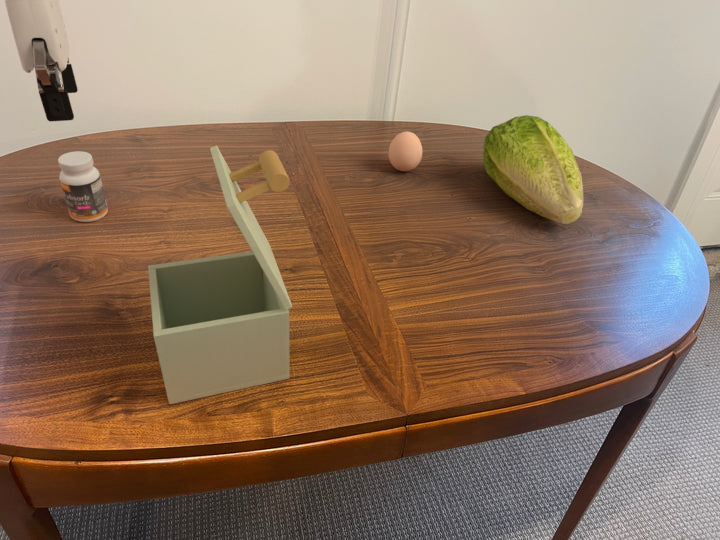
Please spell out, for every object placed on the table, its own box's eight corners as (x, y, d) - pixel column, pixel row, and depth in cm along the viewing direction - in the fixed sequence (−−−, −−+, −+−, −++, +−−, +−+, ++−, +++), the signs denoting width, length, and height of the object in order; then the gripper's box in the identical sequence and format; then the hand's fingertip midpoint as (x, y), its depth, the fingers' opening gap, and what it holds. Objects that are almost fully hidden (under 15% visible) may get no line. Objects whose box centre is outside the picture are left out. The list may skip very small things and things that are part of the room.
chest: (169, 405, 59) (153, 336, 52) (162, 332, 68) (147, 265, 61) (289, 378, 63) (289, 312, 57) (269, 313, 72) (266, 248, 65)
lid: (226, 207, 46) (290, 179, 47) (209, 147, 55) (263, 124, 55) (285, 310, 56) (337, 286, 57) (263, 247, 65) (308, 226, 65)
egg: (379, 168, 106) (383, 131, 102) (400, 158, 111) (405, 122, 106) (405, 181, 103) (411, 143, 98) (426, 170, 107) (432, 133, 102)
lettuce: (528, 210, 85) (616, 166, 83) (464, 127, 101) (538, 88, 99) (538, 260, 96) (616, 221, 94) (479, 178, 112) (545, 143, 110)
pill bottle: (63, 222, 84) (46, 165, 78) (80, 203, 89) (64, 147, 82) (100, 225, 84) (85, 168, 78) (114, 206, 89) (101, 151, 83)
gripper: (0, -47, 69) (40, 84, 80) (-25, -16, 57) (26, 134, 68) (64, -46, 72) (94, 82, 82) (54, -16, 59) (91, 130, 70)
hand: (63, 105), depth 75 cm, fingers open, 9 cm apart
